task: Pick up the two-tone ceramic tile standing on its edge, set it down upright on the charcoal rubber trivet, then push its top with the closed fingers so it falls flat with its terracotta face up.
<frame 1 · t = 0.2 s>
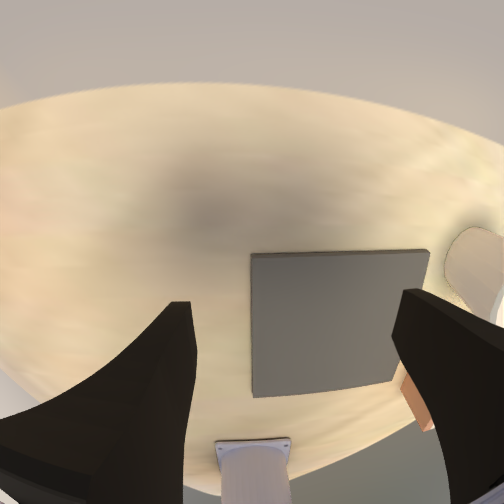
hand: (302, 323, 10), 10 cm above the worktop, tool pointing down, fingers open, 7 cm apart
tile: (417, 363, 25), on the worktop
trivet: (337, 330, 22), on the worktop
white short cylinder: (467, 257, 21), on the worktop
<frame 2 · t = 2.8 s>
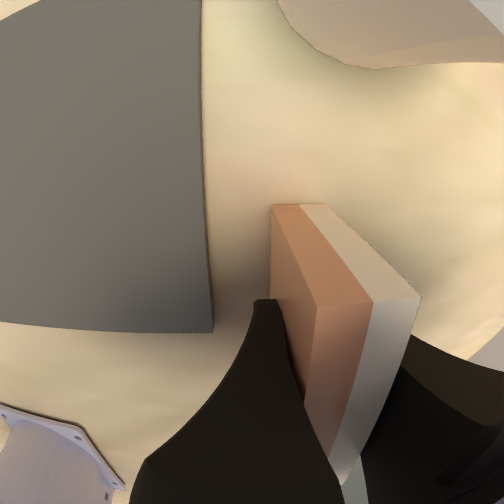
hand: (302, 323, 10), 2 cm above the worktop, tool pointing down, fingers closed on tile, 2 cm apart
tile: (294, 297, 11), on the worktop, touching gripper
trivet: (31, 167, 9), on the worktop
white short cylinder: (354, 0, 7), on the worktop
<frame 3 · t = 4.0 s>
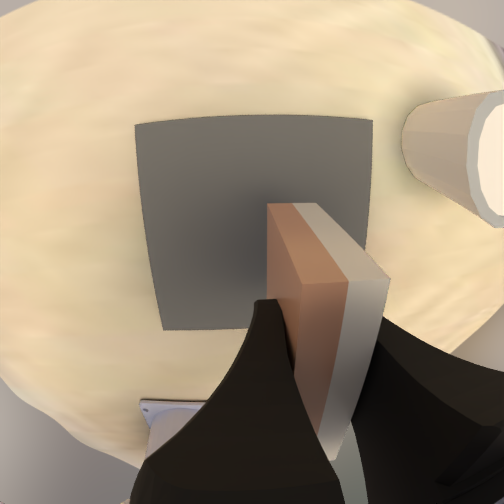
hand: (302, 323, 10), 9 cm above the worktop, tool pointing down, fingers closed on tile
tile: (288, 288, 12), point 6 cm above the worktop, touching gripper
trivet: (258, 229, 18), on the worktop
white short cylinder: (434, 144, 16), on the worktop
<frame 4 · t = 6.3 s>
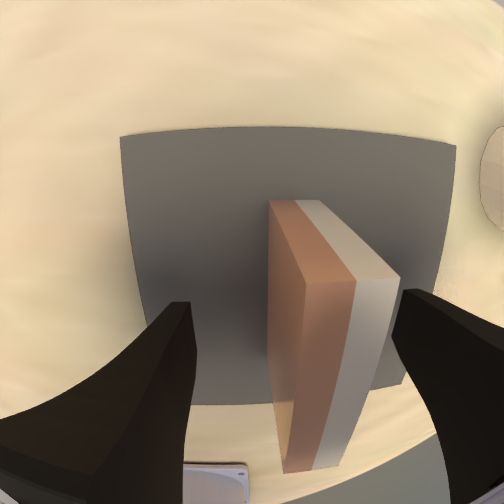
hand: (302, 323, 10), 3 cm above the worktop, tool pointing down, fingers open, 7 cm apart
tile: (290, 288, 12), point 1 cm above the worktop, touching trivet
trivet: (299, 290, 13), on the worktop
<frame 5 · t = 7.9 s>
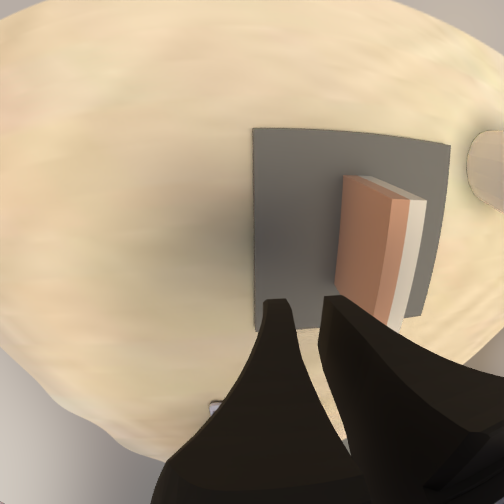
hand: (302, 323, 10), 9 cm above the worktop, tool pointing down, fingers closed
tile: (353, 232, 18), point 1 cm above the worktop, touching trivet
trivet: (356, 235, 19), on the worktop
white short cylinder: (488, 166, 17), on the worktop
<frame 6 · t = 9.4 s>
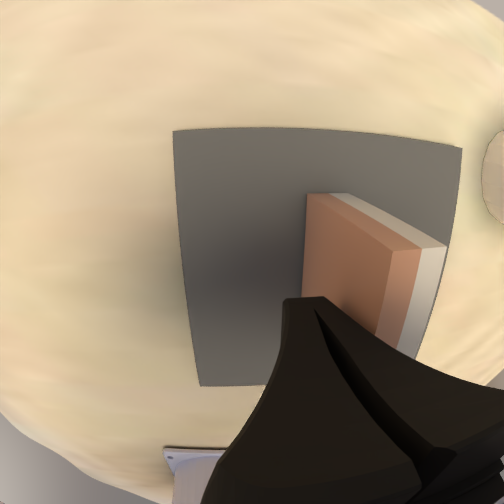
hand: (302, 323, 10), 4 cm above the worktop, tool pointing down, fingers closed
tile: (322, 272, 13), point 1 cm above the worktop, tilted 6°, touching trivet
trivet: (327, 273, 14), on the worktop
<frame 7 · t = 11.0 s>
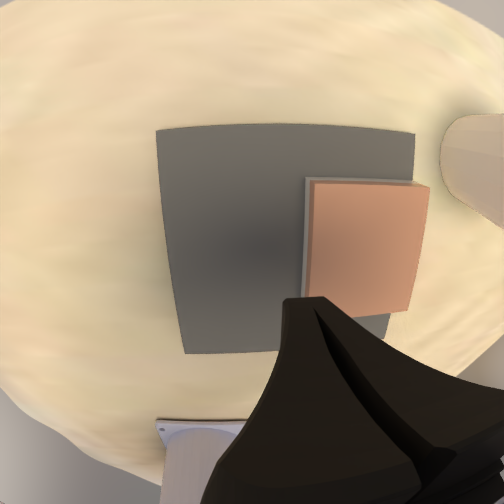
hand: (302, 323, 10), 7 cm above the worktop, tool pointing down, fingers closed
tile: (307, 251, 15), point 1 cm above the worktop, tilted 90°, touching trivet
trivet: (292, 249, 16), on the worktop
white short cylinder: (469, 159, 15), on the worktop
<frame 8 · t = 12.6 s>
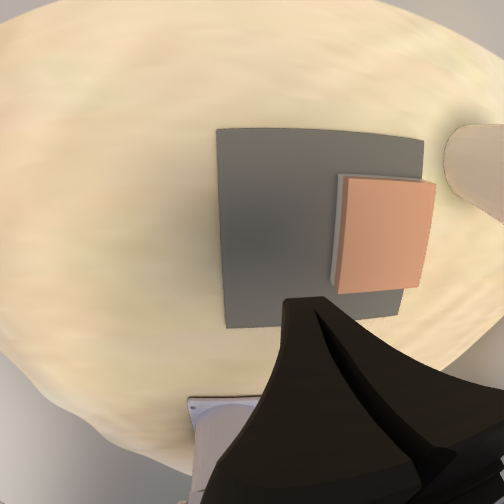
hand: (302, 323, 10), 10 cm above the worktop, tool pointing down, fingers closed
tile: (339, 234, 18), point 1 cm above the worktop, tilted 90°, touching trivet
trivet: (324, 233, 19), on the worktop
white short cylinder: (468, 161, 18), on the worktop
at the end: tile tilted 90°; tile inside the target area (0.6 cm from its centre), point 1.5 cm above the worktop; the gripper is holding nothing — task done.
